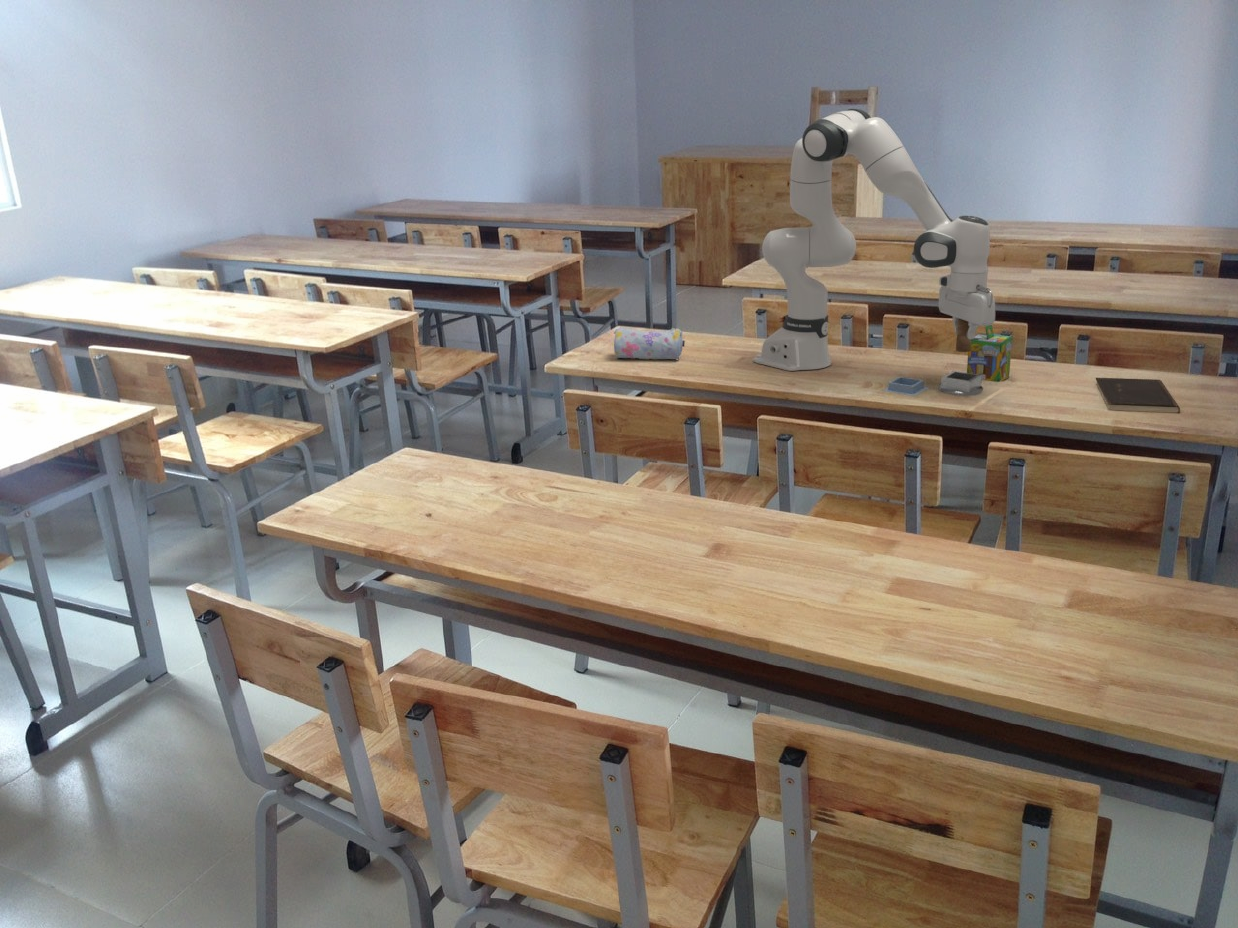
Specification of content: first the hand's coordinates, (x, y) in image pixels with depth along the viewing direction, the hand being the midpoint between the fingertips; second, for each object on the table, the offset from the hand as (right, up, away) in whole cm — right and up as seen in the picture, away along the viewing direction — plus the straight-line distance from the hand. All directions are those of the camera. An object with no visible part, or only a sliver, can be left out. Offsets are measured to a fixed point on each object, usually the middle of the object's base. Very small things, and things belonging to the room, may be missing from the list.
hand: (964, 336), depth 276 cm
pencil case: (-79, -1, +49) cm, 93 cm away
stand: (-13, -14, +8) cm, 20 cm away
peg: (0, -3, +1) cm, 4 cm away
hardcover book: (+42, -17, -3) cm, 45 cm away
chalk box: (+12, -10, +17) cm, 23 cm away
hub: (+1, -14, +6) cm, 15 cm away
